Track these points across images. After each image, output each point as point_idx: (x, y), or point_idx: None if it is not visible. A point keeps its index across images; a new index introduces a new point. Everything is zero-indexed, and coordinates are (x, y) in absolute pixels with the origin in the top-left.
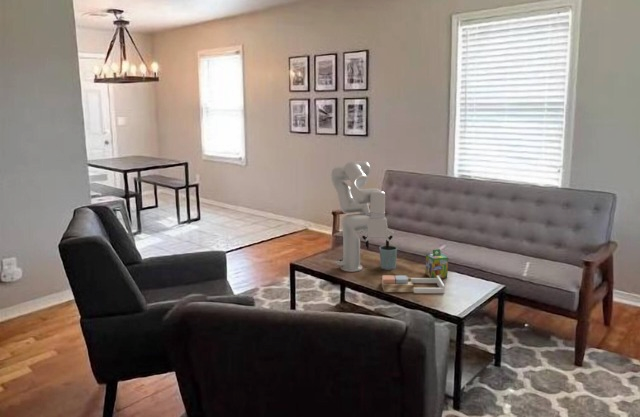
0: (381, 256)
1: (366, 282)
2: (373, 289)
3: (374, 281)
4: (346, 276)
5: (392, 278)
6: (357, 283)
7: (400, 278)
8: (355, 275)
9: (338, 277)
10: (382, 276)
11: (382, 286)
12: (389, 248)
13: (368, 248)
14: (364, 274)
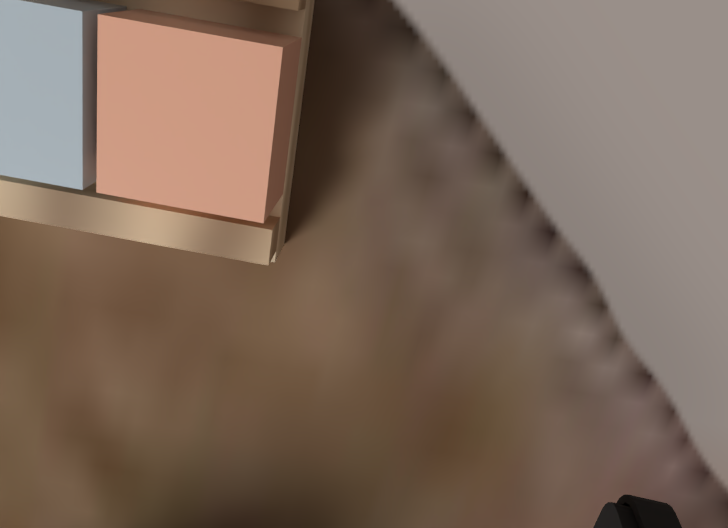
0: None
1: (452, 304)
2: (433, 63)
3: (351, 317)
4: None
5: (134, 65)
6: (569, 294)
7: (12, 46)
8: (511, 512)
9: (718, 497)
10: (268, 189)
11: (297, 130)
12: None
13: (611, 505)
14: (407, 518)
